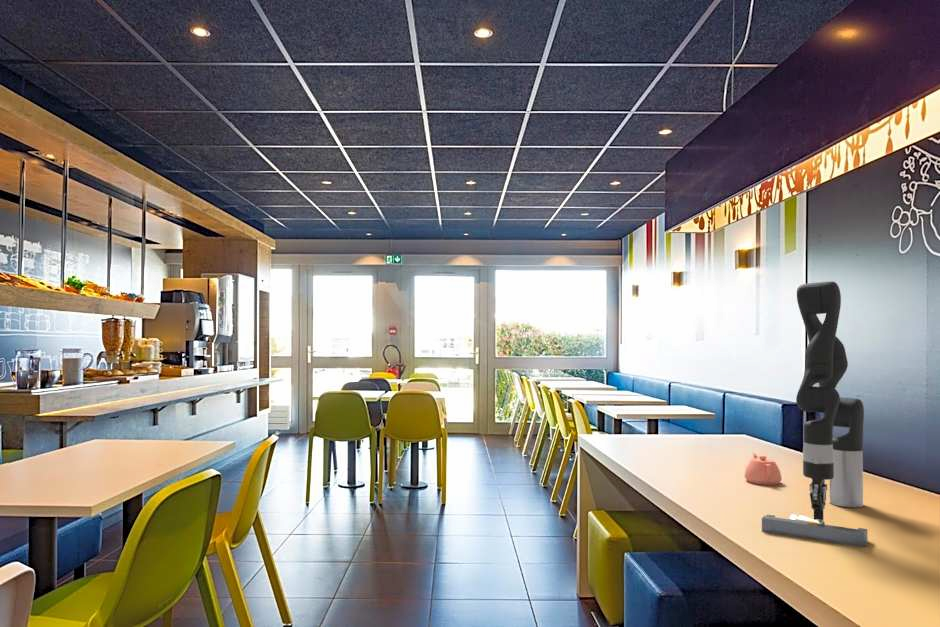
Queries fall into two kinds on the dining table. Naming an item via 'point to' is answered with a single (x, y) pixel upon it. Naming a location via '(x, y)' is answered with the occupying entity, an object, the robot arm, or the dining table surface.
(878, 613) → the dining table surface
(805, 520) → the pipe fitting
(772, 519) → the stop bracket
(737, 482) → the dining table surface
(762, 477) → the pink rounded piece
